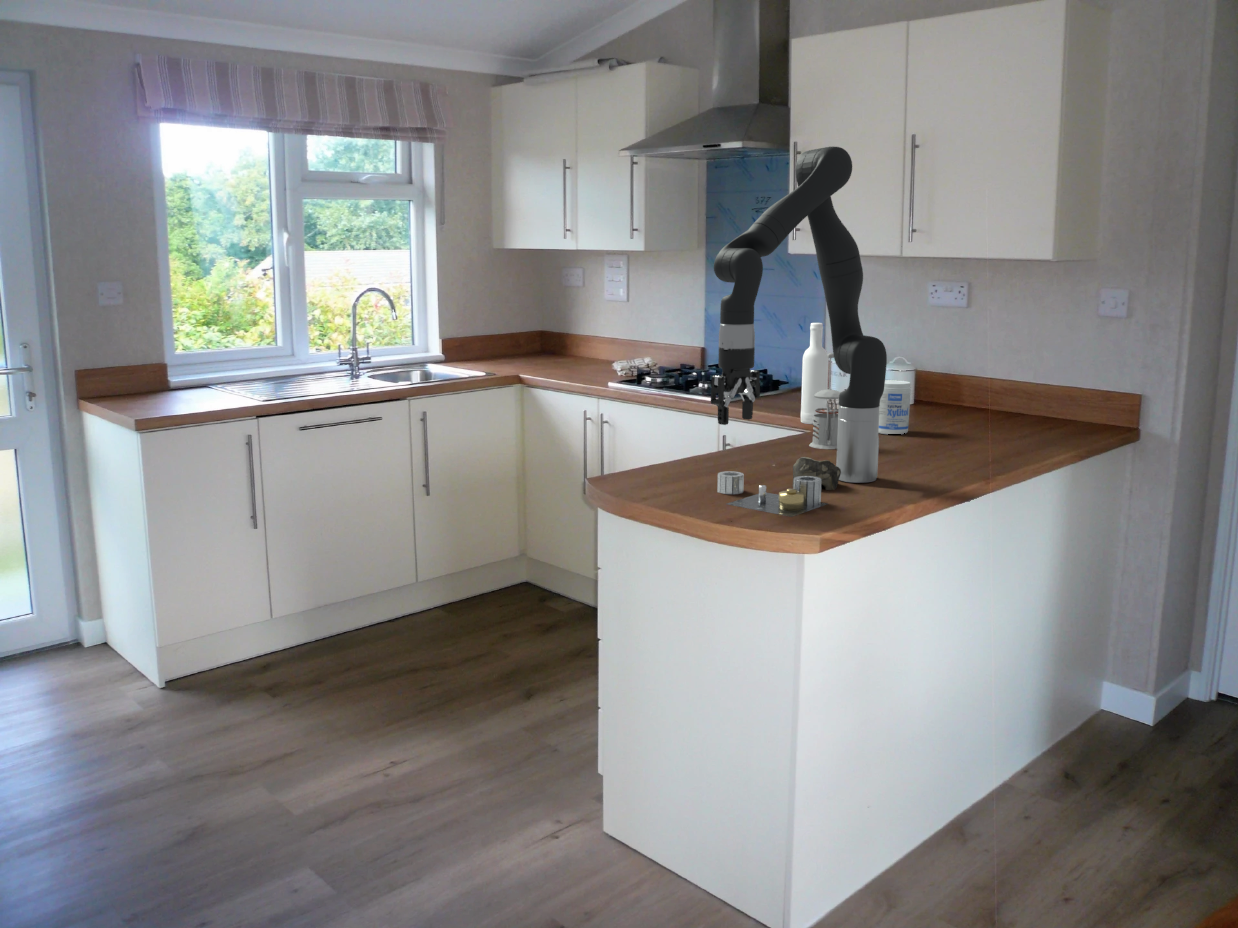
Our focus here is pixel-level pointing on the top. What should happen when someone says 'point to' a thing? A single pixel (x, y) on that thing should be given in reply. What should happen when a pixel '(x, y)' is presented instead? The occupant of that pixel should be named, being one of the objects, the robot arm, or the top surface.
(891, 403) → the supplement tub
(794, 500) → the carrier
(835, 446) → the french press
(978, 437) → the top surface
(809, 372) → the bottle
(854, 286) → the robot arm
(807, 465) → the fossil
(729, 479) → the planet gear
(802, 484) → the grey hollow pipe
